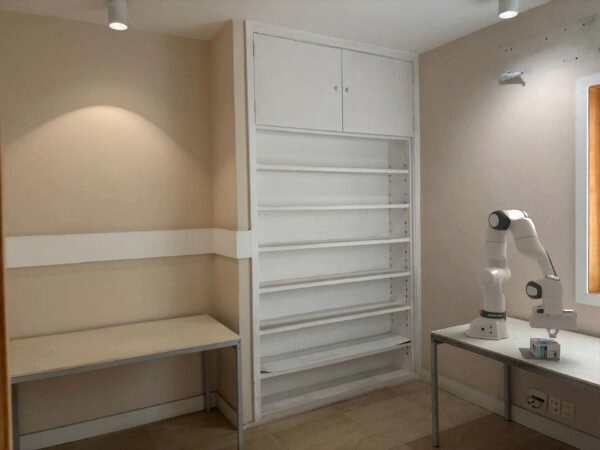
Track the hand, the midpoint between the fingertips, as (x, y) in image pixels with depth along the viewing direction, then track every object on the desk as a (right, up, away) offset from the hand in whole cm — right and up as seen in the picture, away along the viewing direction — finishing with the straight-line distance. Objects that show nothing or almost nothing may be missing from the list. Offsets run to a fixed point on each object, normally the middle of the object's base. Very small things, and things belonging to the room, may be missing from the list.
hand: (552, 337), depth 227 cm
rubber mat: (-6, -9, +2) cm, 11 cm away
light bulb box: (+2, -5, -1) cm, 5 cm away
